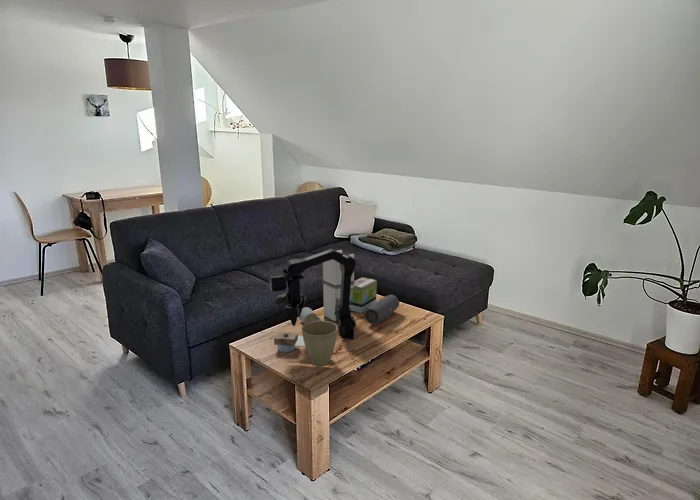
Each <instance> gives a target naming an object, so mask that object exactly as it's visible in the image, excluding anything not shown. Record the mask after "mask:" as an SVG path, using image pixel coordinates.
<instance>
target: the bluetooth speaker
mask: <svg viewBox="0 0 700 500" xmlns="http://www.w3.org/2000/svg"><path fill="white" fill-rule="evenodd" d="M399 307H400V300H399V298H398V297H397V295H394V294H387V295H386V296H384V297H382V298H380V299H379V300H378V301H377V300H376V303H374V304H373V305H372V306H370V307H369V308H368V309H367V310H366V311H364V320H366V322H367V323H368V324H371V325H377V324H379V323H382V322H383V321H384V320H386V319H388V317H389V316H391V315H392V313H394V312H395V311H396V310H398V308H399Z"/></svg>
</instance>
